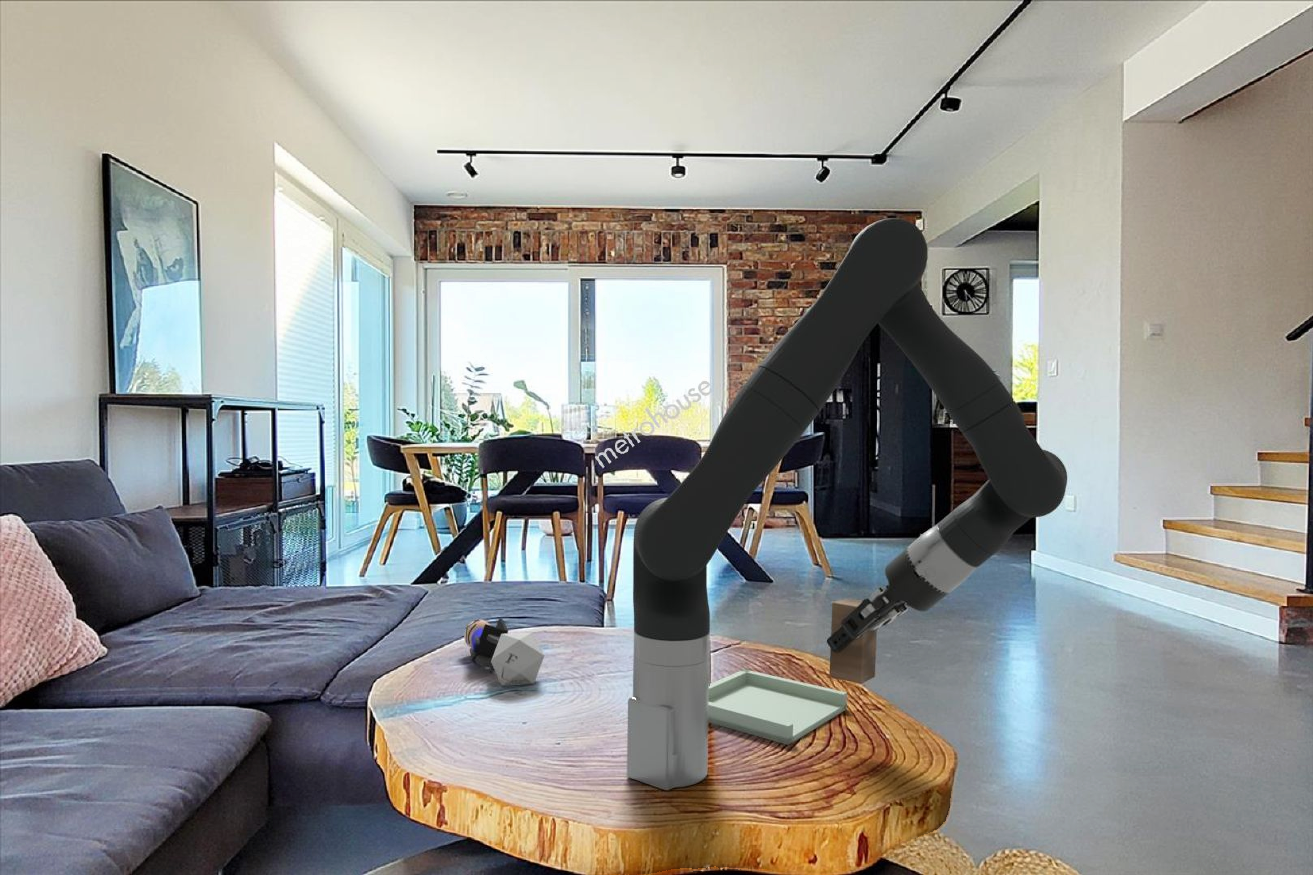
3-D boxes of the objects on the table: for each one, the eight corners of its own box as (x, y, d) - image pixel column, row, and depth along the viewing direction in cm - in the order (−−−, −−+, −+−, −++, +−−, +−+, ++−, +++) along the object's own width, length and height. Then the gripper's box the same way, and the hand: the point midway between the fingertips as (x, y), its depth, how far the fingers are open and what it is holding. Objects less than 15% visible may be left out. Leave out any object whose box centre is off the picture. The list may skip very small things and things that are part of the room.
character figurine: (468, 678, 137) (464, 654, 152) (512, 672, 139) (505, 649, 153) (465, 631, 137) (462, 612, 151) (509, 626, 139) (502, 607, 153)
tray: (788, 744, 110) (788, 726, 110) (679, 714, 121) (679, 697, 121) (846, 709, 124) (847, 692, 124) (744, 684, 135) (744, 669, 135)
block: (860, 684, 108) (863, 607, 108) (829, 676, 111) (832, 602, 111) (874, 676, 112) (877, 602, 112) (844, 669, 114) (846, 597, 114)
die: (479, 684, 135) (482, 647, 129) (508, 647, 142) (512, 611, 136) (522, 707, 133) (527, 670, 127) (550, 669, 140) (555, 632, 134)
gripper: (931, 539, 112) (845, 612, 120) (890, 548, 101) (797, 629, 108) (969, 583, 109) (878, 656, 116) (931, 599, 98) (833, 678, 105)
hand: (840, 643), depth 112 cm, fingers closed on block, 4 cm apart
